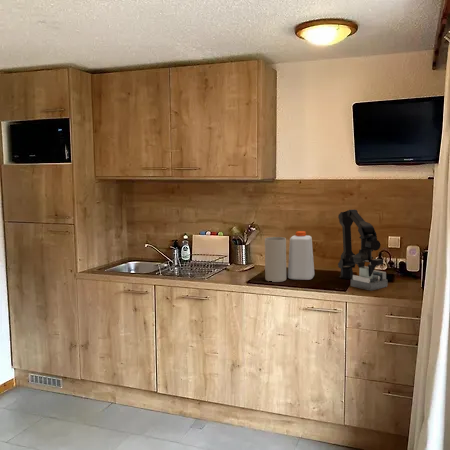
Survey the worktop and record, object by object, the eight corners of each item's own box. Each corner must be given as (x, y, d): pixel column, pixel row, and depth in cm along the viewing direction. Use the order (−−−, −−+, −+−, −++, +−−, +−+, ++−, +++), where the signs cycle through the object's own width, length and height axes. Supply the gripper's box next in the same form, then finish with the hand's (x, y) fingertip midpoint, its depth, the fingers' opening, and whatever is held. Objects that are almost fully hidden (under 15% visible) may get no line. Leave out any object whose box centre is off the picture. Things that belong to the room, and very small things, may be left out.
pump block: (359, 278, 277) (359, 267, 276) (365, 276, 280) (365, 266, 279) (366, 279, 273) (366, 269, 272) (372, 278, 276) (372, 267, 275)
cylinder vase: (275, 276, 308) (274, 236, 305) (290, 279, 299) (290, 238, 296) (261, 280, 300) (260, 238, 297) (276, 283, 291) (275, 240, 288)
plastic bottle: (286, 279, 300) (286, 233, 296) (290, 274, 314) (290, 229, 311) (312, 280, 295) (311, 233, 292) (315, 275, 310) (315, 230, 306)
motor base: (350, 286, 280) (350, 272, 279) (366, 282, 288) (366, 268, 287) (371, 290, 269) (371, 276, 268) (387, 286, 277) (387, 272, 276)
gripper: (343, 247, 277) (343, 275, 279) (370, 251, 262) (370, 280, 264) (356, 245, 284) (356, 272, 286) (384, 249, 269) (383, 277, 271)
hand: (365, 275), depth 276 cm, fingers closed on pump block, 5 cm apart
